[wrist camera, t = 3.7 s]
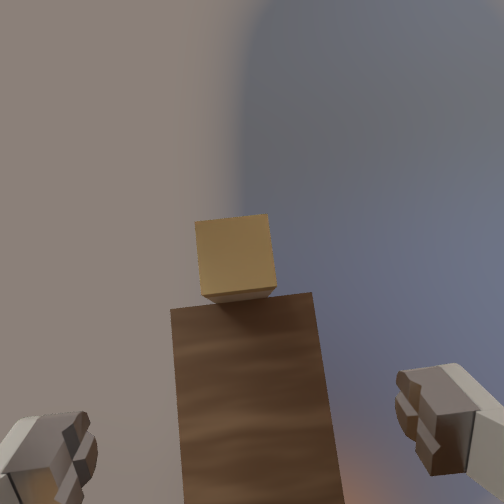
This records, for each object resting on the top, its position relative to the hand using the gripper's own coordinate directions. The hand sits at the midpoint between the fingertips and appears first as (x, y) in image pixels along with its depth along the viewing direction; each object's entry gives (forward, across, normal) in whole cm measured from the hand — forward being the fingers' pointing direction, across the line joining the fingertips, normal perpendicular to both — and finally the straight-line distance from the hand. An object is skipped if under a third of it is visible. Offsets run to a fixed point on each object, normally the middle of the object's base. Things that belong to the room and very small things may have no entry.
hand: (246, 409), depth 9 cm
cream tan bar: (+16, 0, +5) cm, 17 cm away
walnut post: (+7, 0, +30) cm, 31 cm away
